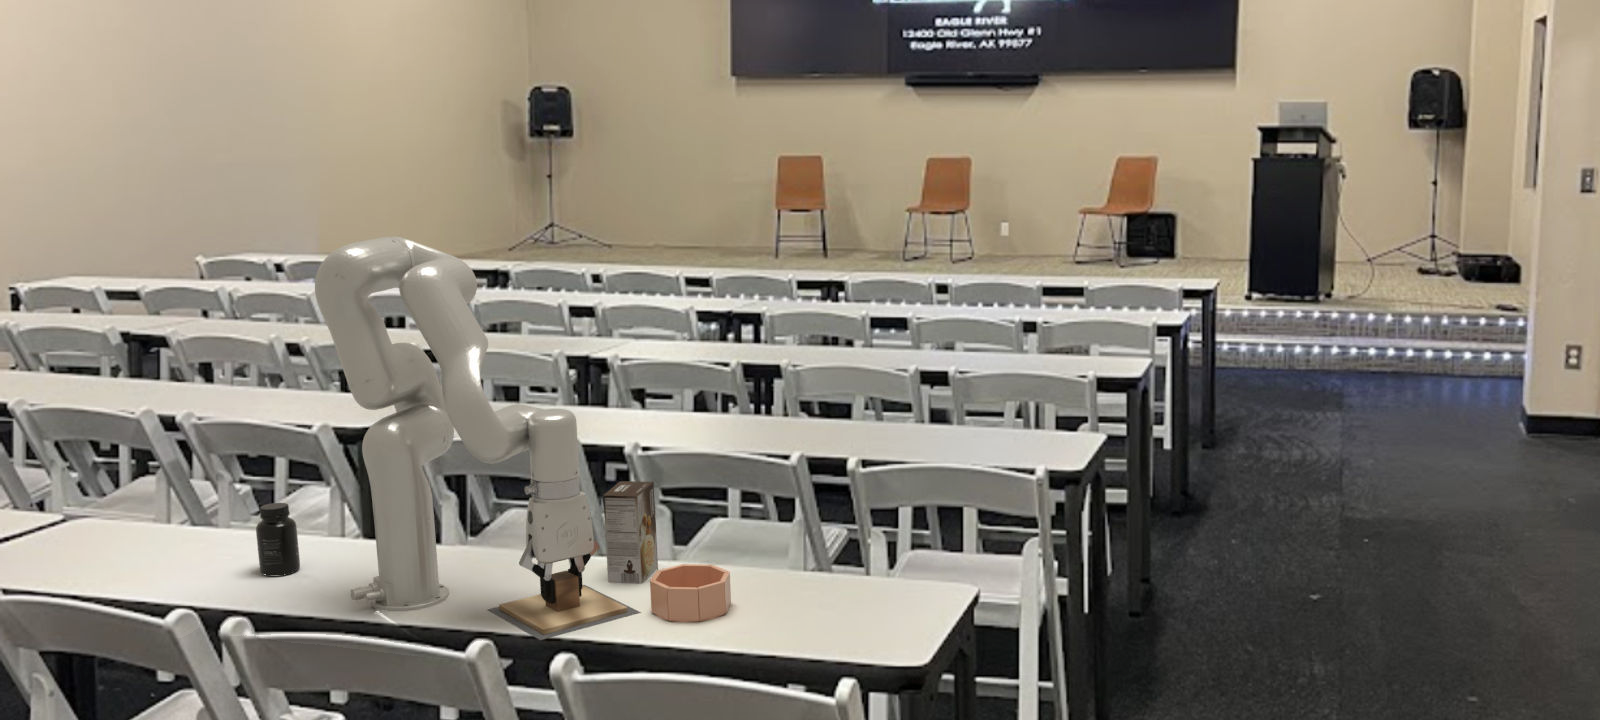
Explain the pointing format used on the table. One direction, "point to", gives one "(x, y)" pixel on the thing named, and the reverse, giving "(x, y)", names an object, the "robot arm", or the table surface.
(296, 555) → the supplement bottle
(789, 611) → the table surface
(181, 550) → the table surface
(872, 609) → the table surface
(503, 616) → the mat
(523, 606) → the lid
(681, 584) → the bowl
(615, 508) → the coffee box
